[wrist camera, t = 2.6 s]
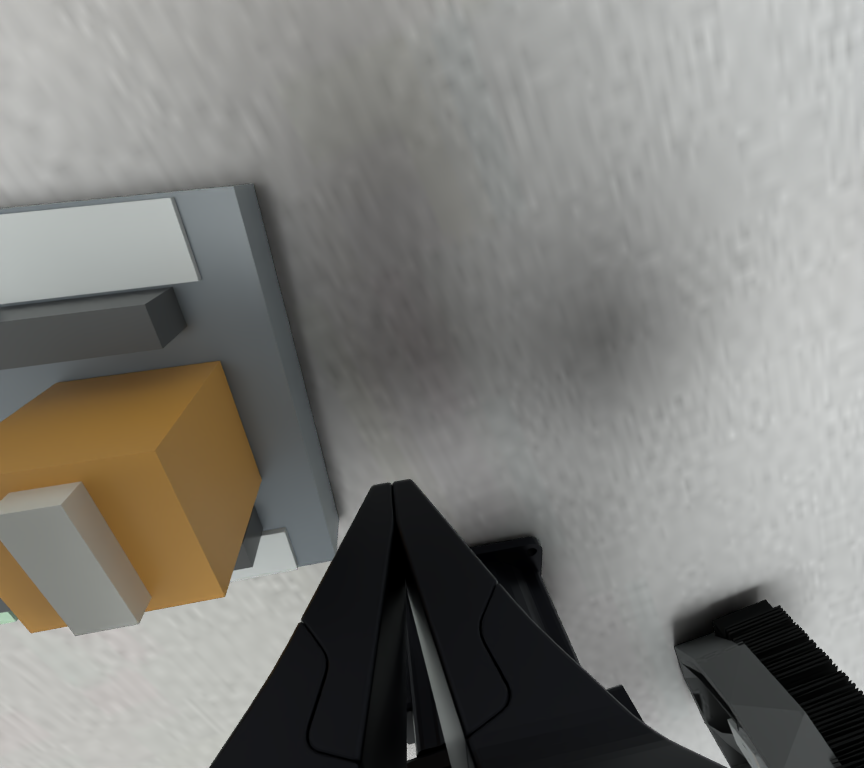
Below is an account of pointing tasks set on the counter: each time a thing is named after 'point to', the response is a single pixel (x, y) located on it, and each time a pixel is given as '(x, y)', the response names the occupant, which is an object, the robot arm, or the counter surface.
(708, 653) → the cpu cooler
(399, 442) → the counter surface
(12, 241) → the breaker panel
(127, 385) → the block
